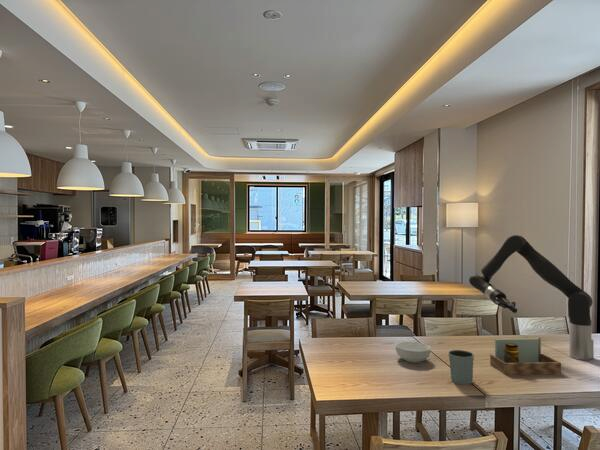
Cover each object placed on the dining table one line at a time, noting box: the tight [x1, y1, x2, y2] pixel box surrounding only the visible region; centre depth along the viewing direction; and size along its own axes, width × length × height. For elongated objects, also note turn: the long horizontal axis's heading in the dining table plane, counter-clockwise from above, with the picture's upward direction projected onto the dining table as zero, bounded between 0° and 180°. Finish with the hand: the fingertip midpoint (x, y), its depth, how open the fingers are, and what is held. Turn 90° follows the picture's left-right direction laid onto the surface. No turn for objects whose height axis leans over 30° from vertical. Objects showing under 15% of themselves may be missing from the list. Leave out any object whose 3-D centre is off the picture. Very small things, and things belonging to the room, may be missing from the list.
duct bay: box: [489, 353, 562, 376], centre depth 188 cm, size 26×13×5 cm, turn 92°
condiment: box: [504, 343, 519, 363], centre depth 188 cm, size 7×8×12 cm
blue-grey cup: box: [448, 349, 475, 386], centre depth 174 cm, size 10×10×12 cm
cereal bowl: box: [395, 341, 432, 364], centre depth 201 cm, size 17×17×7 cm
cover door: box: [494, 337, 542, 363], centre depth 195 cm, size 22×1×13 cm, turn 93°
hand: (515, 311), depth 210 cm, fingers closed
